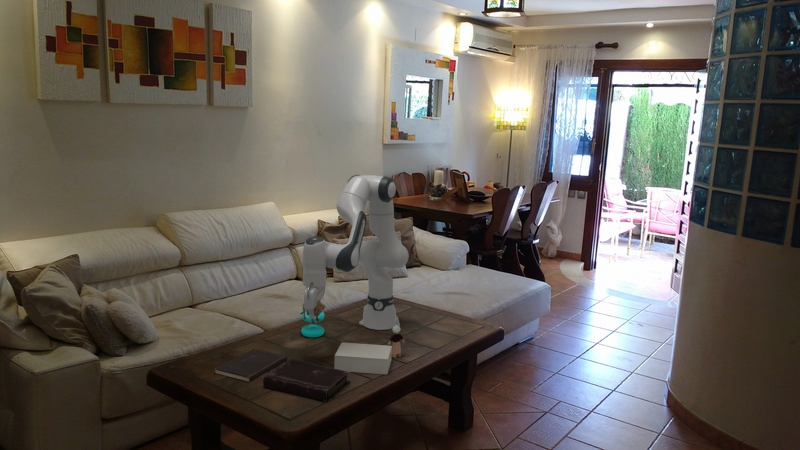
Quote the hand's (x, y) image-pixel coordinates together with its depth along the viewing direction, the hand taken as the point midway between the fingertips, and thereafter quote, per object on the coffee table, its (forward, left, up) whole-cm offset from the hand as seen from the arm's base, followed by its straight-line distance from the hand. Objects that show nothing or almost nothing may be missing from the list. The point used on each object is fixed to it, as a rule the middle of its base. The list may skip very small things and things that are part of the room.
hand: (314, 314), depth 240 cm
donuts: (-29, -7, -19) cm, 35 cm away
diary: (+22, +3, -19) cm, 29 cm away
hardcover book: (+10, -21, -19) cm, 30 cm away
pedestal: (+1, +20, -19) cm, 27 cm away
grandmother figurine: (-11, +31, -19) cm, 38 cm away
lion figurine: (-2, -1, -3) cm, 4 cm away
